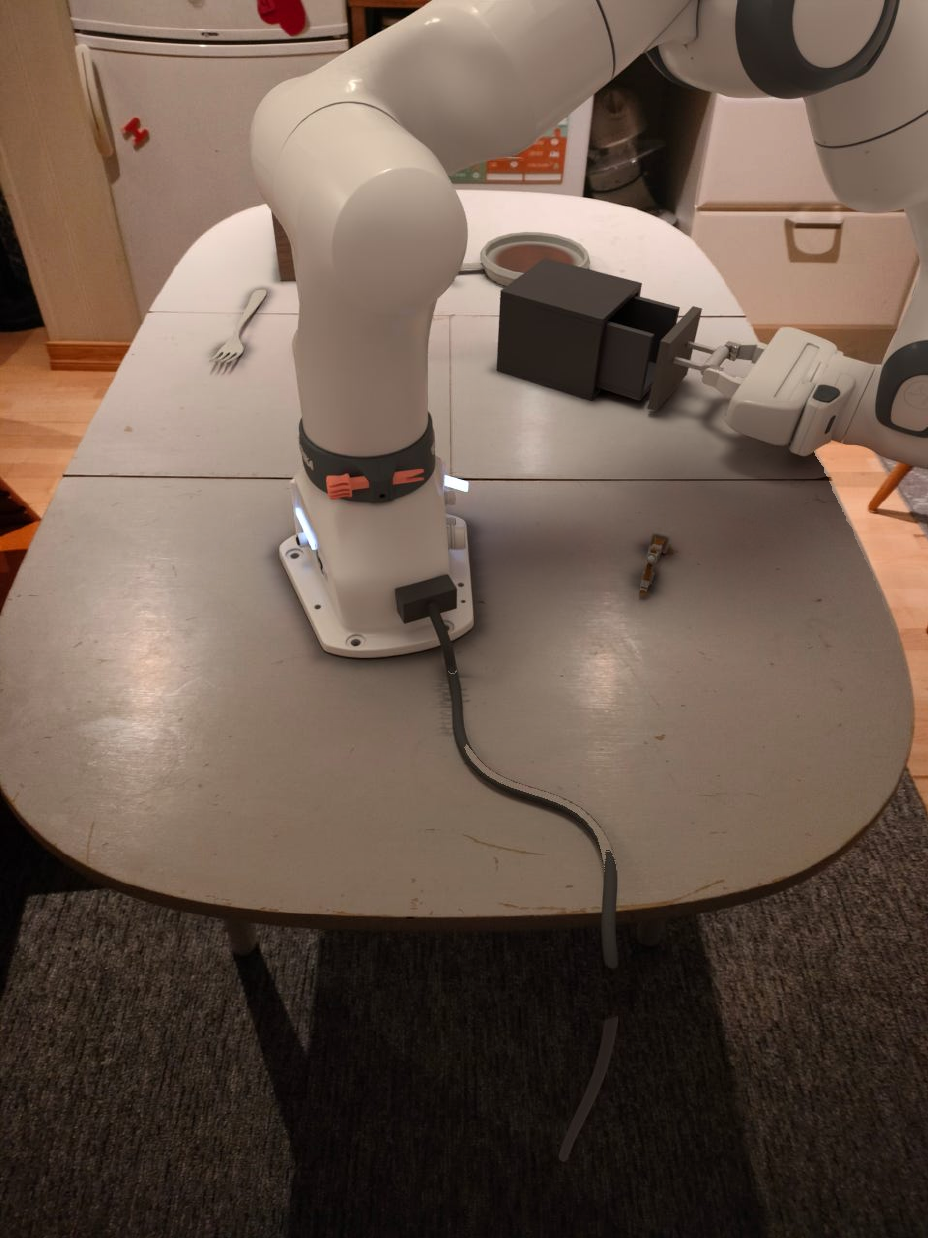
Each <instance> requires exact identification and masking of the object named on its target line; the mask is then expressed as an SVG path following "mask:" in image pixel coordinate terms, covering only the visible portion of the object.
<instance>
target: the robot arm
mask: <svg viewBox="0 0 928 1238" xmlns="http://www.w3.org/2000/svg"><path fill="white" fill-rule="evenodd" d="M644 53H645V55H646V56H647V58H648V60H649V61H650V63H651V64H652V65H653V66H654V68H655V69H656V70H657V71H658V72H659V73H660V74H661V75H662V76H663V77H665V78H666V79H667V80H669V81H670V82H672V83H673V84H675V85H677V86H679V87H681V88H684V89H687V90H692V91H702V90H703V91H705V92H710V93H714V94H719V95H721V96H723V97H727V98H733V99H746V100H747V99H766V98H769V99H770V98H776V99H779V100H795V99H796V100H798V99H802V100H803V102H804V104H805V109H806V114H807V115H806V116H807V119H808V124H809V129H810V131H811V136H812V140H813V144H814V147H815V151H816V155H817V158H818V161H819V165H820V168H821V172H822V174H823V176H824V178H825V180H826V182H827V184H828V187H829V188H830V190H831V192H832V193H833V195H834V197H835V198H836V200H837V201H838V203H839V204H841V205H843V206H845V207H847V208H849V209H852V210H854V211H857V212H861V213H864V214H865V213H866V214H887V213H892V212H896V211H897V212H899V211H902V210H903V212H904V214H905V217H906V221H907V224H908V227H909V230H910V233H911V237H912V240H913V243H914V247H915V250H916V253H917V256H918V260H919V271H918V277H917V280H916V283H915V286H914V288H913V290H912V291H913V292H912V295H911V297H910V301H909V303H908V305H907V307H906V308H905V312H904V314H903V316H902V318H901V320H900V322H899V325H898V327H897V329H896V331H895V332H894V335H893V337H892V338H891V341H890V342H889V345H888V347H887V349H886V352H885V354H884V356H883V359H882V361H881V366H880V365H876V364H872V363H869V362H866V361H862V360H859V359H855V358H852V357H849V356H845V355H844V354H845V353H844V352H843V351H842V350H839V349H838V346H837V345H836V344H835V343H833V342H831V341H830V340H828V339H826V338H824V337H820V336H819V335H816V334H813V333H810V332H807V331H804V330H802V329H799V328H796V327H791V326H781V327H779V328H778V329H777V331H776V332H775V334H774V335H773V337H772V338H771V339H770V341H769V343H764V342H760V341H748V342H747V341H745V342H741V341H737V340H734V339H728V340H727V341H726V342H725V344H724V345H723V346H726V347H727V348H728V350H729V355H728V357H727V358H726V359H725V360H729V361H731V362H735V361H736V360H744V361H751V362H750V363H751V364H753V366H752V367H751V369H750V370H749V372H748V373H747V375H746V376H745V377H744V378H743V377H742V376H739V375H735V376H734V377H733V376H731V375H730V374H728V373H726V372H725V371H724V367H721V366H720V367H719V366H715V365H709V366H708V367H707V368H706V370H705V371H704V374H703V376H702V378H701V382H702V384H704V385H707V386H710V387H713V388H715V389H716V390H717V391H718V392H719V393H721V394H722V395H723V396H724V397H725V398H727V399H730V401H729V404H728V407H727V410H726V413H725V416H724V422H725V424H726V425H727V426H728V427H729V428H730V429H731V430H733V431H735V432H737V433H739V434H741V435H744V436H747V437H749V438H753V439H755V440H758V441H761V442H764V443H768V444H771V445H774V446H787V445H789V449H788V450H789V452H790V453H792V454H794V455H797V456H801V457H807V456H810V455H811V454H812V453H814V452H815V451H817V450H818V449H820V448H821V447H823V446H825V445H828V444H830V443H831V441H833V442H836V443H838V444H842V445H847V446H858V447H862V448H866V449H868V450H870V451H871V452H873V453H875V454H877V455H878V456H880V457H881V458H885V459H887V460H891V461H893V462H896V463H900V464H903V465H907V466H911V467H915V468H919V469H923V470H928V0H430V1H429V2H427V3H425V5H424V6H421V7H420V8H418V9H417V10H415V11H414V12H412V13H410V14H409V15H407V16H406V17H404V18H402V19H400V20H399V21H397V22H396V23H394V24H392V25H390V26H388V27H387V28H385V29H383V30H381V31H379V32H377V33H376V34H374V35H372V36H371V37H368V38H367V39H365V40H363V41H361V42H360V43H358V44H357V45H355V46H353V47H351V48H350V49H348V50H347V51H345V52H343V53H341V54H340V55H338V56H336V57H335V58H334V59H332V60H330V61H329V62H327V63H326V64H324V65H323V66H320V67H319V68H318V69H316V70H313V71H311V72H310V73H307V74H304V75H301V76H297V77H292V78H289V79H287V80H284V81H282V82H280V83H279V84H277V85H276V86H274V87H273V88H272V89H271V90H270V91H268V92H267V93H266V95H265V96H264V97H263V98H262V100H261V101H260V103H259V104H258V106H257V107H256V109H255V112H254V115H253V117H252V120H251V125H250V129H249V130H250V131H249V151H250V152H249V153H250V160H251V166H252V172H253V177H254V180H255V181H254V182H255V184H256V187H257V189H258V191H259V194H260V196H261V198H262V200H263V201H264V203H265V204H266V206H267V207H268V209H269V210H270V212H271V211H272V213H273V214H274V215H275V217H276V218H277V219H278V221H279V222H280V223H281V225H282V227H283V228H284V230H285V232H286V234H287V236H288V239H289V241H290V244H291V247H292V249H293V252H294V255H295V259H296V263H297V268H298V276H299V287H300V300H299V299H298V320H297V328H296V330H295V332H294V334H293V337H292V342H291V347H292V354H293V361H294V369H295V376H296V385H297V392H298V399H299V407H300V415H301V417H300V419H299V423H298V433H299V434H298V447H299V451H300V454H301V460H302V461H301V462H302V465H301V467H300V468H299V470H298V472H297V473H296V474H295V475H294V476H293V477H292V479H291V480H290V481H289V488H290V497H291V505H292V514H293V520H294V527H295V534H293V535H291V536H290V537H288V538H286V539H285V540H284V541H283V542H282V543H281V544H280V545H279V547H278V548H279V549H278V551H279V560H280V561H281V563H282V566H283V568H284V570H285V572H286V574H287V576H288V579H289V580H290V583H291V584H292V587H293V589H294V591H295V593H296V595H297V597H298V600H299V602H300V604H301V606H302V608H303V610H304V612H305V614H306V617H307V619H308V621H309V623H310V625H311V628H312V629H313V631H314V634H315V636H316V638H317V640H318V642H319V644H320V646H321V647H322V649H323V650H324V651H325V652H326V653H328V654H329V653H330V654H332V655H336V656H340V657H347V658H359V659H365V658H366V659H367V658H368V659H369V658H371V659H372V658H373V659H374V658H383V657H384V658H385V657H394V656H400V655H407V654H411V653H412V654H413V653H417V652H422V651H427V650H429V649H434V648H437V647H440V648H441V653H442V656H443V657H442V658H443V661H444V666H445V671H446V676H447V680H448V684H449V693H450V699H451V719H452V720H451V722H452V730H453V735H454V739H455V743H456V744H457V747H458V750H459V751H460V753H461V755H462V757H463V758H464V759H465V761H466V762H467V763H468V765H469V766H470V767H471V768H472V770H473V771H474V772H475V773H476V774H477V775H478V776H479V777H480V778H482V779H484V780H485V781H486V782H487V783H489V784H491V785H492V786H494V787H496V788H497V789H500V790H502V791H505V792H507V793H509V794H512V795H515V796H518V797H521V798H523V799H528V800H530V801H534V802H537V803H540V804H543V805H546V806H549V807H552V808H553V809H557V810H559V811H561V812H562V813H565V814H567V815H568V816H570V817H572V818H573V819H574V820H575V821H577V822H578V823H580V824H581V825H582V827H584V828H585V829H586V831H587V832H588V834H590V835H591V837H592V839H593V840H594V842H595V844H596V846H597V848H598V850H599V854H600V856H601V858H602V853H601V849H600V845H599V842H598V838H597V836H596V835H595V833H594V831H593V829H592V828H591V827H590V826H589V825H588V823H587V822H586V821H585V820H584V819H583V818H581V817H580V816H579V815H578V814H577V813H575V812H573V811H572V810H570V809H568V808H567V807H565V806H563V805H560V804H558V803H556V802H553V801H550V800H548V799H545V798H542V797H539V796H535V795H532V794H529V793H526V792H523V791H520V790H517V789H514V788H511V787H509V786H506V785H504V784H501V783H499V782H497V781H496V780H494V779H492V778H490V777H489V776H487V775H486V774H485V773H483V772H482V771H481V770H480V769H479V768H478V767H477V766H476V765H475V764H474V763H473V762H472V761H471V759H470V758H469V756H468V755H467V753H466V750H465V748H464V747H465V746H466V744H467V745H468V746H469V748H470V749H471V750H472V751H473V753H474V754H475V755H476V756H477V758H478V759H479V760H480V761H481V762H482V763H483V764H484V765H485V766H486V767H488V768H489V769H490V770H492V771H493V772H495V771H494V770H493V769H491V767H489V766H487V765H486V764H485V762H483V761H482V760H481V759H480V757H479V756H478V755H477V754H476V752H475V751H474V749H473V747H472V746H471V744H470V742H469V739H468V736H467V732H466V728H465V721H464V706H463V694H462V687H461V681H460V676H459V672H458V671H459V670H458V666H457V662H456V657H455V651H454V648H453V647H454V646H453V644H452V642H453V641H455V640H456V639H458V638H461V637H462V636H464V635H465V634H466V633H468V632H469V631H470V630H471V629H472V628H473V627H474V625H475V624H474V623H475V617H474V616H475V615H474V604H473V603H474V602H473V592H472V589H473V588H472V579H471V564H470V554H469V553H470V552H469V541H468V528H467V523H466V521H465V520H464V519H462V518H461V517H459V516H456V515H452V514H448V513H447V512H446V507H447V506H455V505H456V491H455V490H452V489H451V490H449V489H448V490H447V489H446V487H449V488H453V489H456V490H459V491H462V492H466V493H467V492H468V491H469V481H467V480H463V479H459V478H456V477H452V476H449V475H446V461H444V460H443V459H442V458H440V457H439V456H438V455H436V435H435V434H436V433H435V429H434V424H433V417H432V415H431V412H430V411H429V344H430V343H429V342H430V334H431V328H432V324H433V318H434V316H435V315H434V313H435V310H436V306H437V303H438V300H439V298H441V297H442V296H443V295H444V294H445V292H447V290H449V288H450V287H451V285H452V284H453V283H454V282H455V279H456V278H457V275H458V274H459V273H460V268H461V266H462V264H463V263H464V260H465V257H466V253H467V249H468V248H467V247H468V239H469V238H468V237H469V230H468V229H469V227H468V220H467V215H466V211H465V209H464V206H463V203H462V201H461V199H460V197H459V195H458V193H457V190H456V188H455V185H454V184H453V183H452V181H451V178H450V176H452V175H454V174H457V173H459V172H461V171H463V170H465V169H468V168H470V167H473V166H475V165H479V164H482V163H485V162H488V161H493V160H499V159H506V158H510V157H514V156H516V155H518V154H521V153H522V152H524V151H526V150H527V149H529V148H530V147H532V146H533V145H534V144H535V143H537V142H538V141H539V140H540V139H541V138H542V137H544V136H546V134H548V133H549V132H550V131H551V130H552V129H554V128H555V127H556V126H558V124H560V123H561V122H562V121H564V119H566V118H567V117H569V115H571V114H572V113H573V112H574V111H576V110H577V109H578V108H579V107H581V106H582V105H583V104H584V103H585V102H587V101H588V100H589V99H590V98H592V96H594V95H595V94H596V93H597V92H599V90H601V89H602V88H604V87H605V86H606V85H607V84H608V83H610V82H611V81H612V80H613V79H614V78H616V77H617V76H618V75H619V74H620V73H621V72H622V71H624V70H625V69H626V68H627V67H629V66H630V65H631V64H632V63H633V62H634V61H635V60H636V59H637V58H638V57H639V56H640V55H643V54H644ZM453 281H454V282H453ZM456 670H457V672H456V673H455V671H456ZM448 671H449V672H450V673H455V674H450V673H449V672H448ZM495 773H496V774H498V775H500V776H502V777H504V776H503V775H501V774H499V773H497V772H495ZM504 778H506V779H509V780H511V781H513V782H516V783H519V784H522V785H525V786H528V787H532V788H535V789H538V790H541V791H544V792H548V793H550V794H553V795H556V796H559V797H561V798H563V799H565V800H568V801H570V802H571V803H573V804H575V805H576V806H578V807H580V808H581V809H582V810H584V808H582V807H581V806H579V805H578V804H577V803H575V802H572V801H571V800H569V799H567V798H564V797H562V796H561V795H557V794H555V793H552V792H549V791H547V790H546V791H545V790H542V789H540V788H536V787H533V786H529V785H527V784H523V783H520V782H519V781H514V780H512V779H510V778H507V777H504ZM584 811H585V812H586V813H587V814H588V815H590V816H591V817H592V818H593V816H592V815H591V814H590V813H589V812H587V811H586V810H584ZM593 820H594V821H595V822H596V823H597V824H598V825H599V823H598V822H597V821H596V820H595V818H593ZM599 827H600V828H601V829H602V827H601V825H599ZM602 831H603V832H604V830H603V829H602ZM604 834H605V835H606V833H605V832H604ZM606 837H607V839H608V836H607V835H606ZM608 841H609V839H608ZM609 843H610V845H611V842H610V841H609ZM611 846H612V845H611ZM612 850H613V853H614V849H613V848H612ZM606 851H610V850H606ZM605 853H606V854H605V855H606V859H605V860H606V861H605V864H604V865H605V867H604V868H605V869H604V870H605V872H604V870H603V886H602V900H601V901H602V903H601V917H600V918H601V919H600V921H601V926H600V927H601V929H600V931H601V945H602V955H603V956H602V958H603V961H604V965H605V966H607V967H608V968H609V969H613V970H614V969H616V968H617V967H618V964H619V955H618V948H617V933H616V932H617V930H616V928H617V927H616V923H617V922H616V916H617V897H618V896H617V895H618V869H617V870H616V865H617V863H616V864H615V861H614V860H616V858H615V859H614V857H613V856H612V855H613V854H612V853H611V851H610V852H605ZM614 854H615V853H614ZM601 862H602V863H603V860H602V859H601ZM604 873H605V874H604ZM610 923H611V924H610ZM603 1022H604V1024H603V1029H602V1036H601V1042H600V1046H599V1050H598V1055H597V1058H596V1062H595V1065H594V1069H593V1071H592V1074H591V1077H590V1079H589V1082H588V1085H587V1087H586V1089H585V1092H584V1094H583V1096H582V1098H581V1101H580V1103H579V1105H578V1107H577V1110H576V1111H575V1114H574V1116H573V1118H572V1120H571V1122H570V1125H569V1127H568V1129H567V1132H566V1133H565V1136H564V1140H563V1141H562V1144H561V1147H560V1150H559V1153H558V1159H559V1161H561V1162H562V1163H563V1162H566V1161H567V1160H568V1158H569V1155H570V1153H571V1150H572V1148H573V1145H574V1143H575V1141H576V1139H577V1137H578V1135H579V1132H580V1130H581V1129H582V1126H583V1125H584V1122H585V1121H586V1118H587V1117H588V1115H589V1113H590V1111H591V1108H592V1106H593V1104H594V1102H595V1100H596V1099H597V1096H598V1093H599V1092H600V1089H601V1086H602V1084H603V1081H604V1079H605V1076H606V1073H607V1070H608V1067H609V1064H610V1061H611V1057H612V1053H613V1050H614V1045H615V1040H616V1035H617V1030H618V1024H619V1016H614V1017H610V1018H607V1019H604V1021H603Z"/></svg>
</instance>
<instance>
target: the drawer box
mask: <svg viewBox="0 0 928 1238" xmlns="http://www.w3.org/2000/svg"><path fill="white" fill-rule="evenodd" d="M642 285H643V283H642V282H640V281H636V280H632V279H628V278H625V277H620V276H617V275H612V274H609V273H605V272H602V271H598V270H594V269H590V268H587V269H586V268H582V267H578V266H574V265H570V264H567V263H563V262H559V261H555V260H551V259H547V258H543V259H542V260H541V261H539V262H538V263H537V264H535V265H534V266H533V267H531V268H530V269H529V270H527V271H526V272H525V273H523V274H522V275H521V276H519V277H518V278H517V279H515V280H514V281H513V282H511V283H510V284H509V285H507V286H505V287H504V288H502V289H501V290H500V293H499V312H498V313H499V314H498V330H497V332H498V333H497V351H496V371H497V372H500V373H503V374H507V375H511V376H513V377H516V378H519V379H522V380H525V381H528V382H532V383H535V384H538V385H540V386H541V385H542V386H545V387H547V388H551V389H554V390H557V391H560V392H564V393H566V394H569V395H573V396H576V397H579V398H582V399H585V400H588V401H593V399H595V397H596V396H598V395H599V393H600V392H602V390H603V389H601V388H598V387H596V381H597V374H598V367H599V360H600V353H601V346H602V340H603V333H604V326H605V322H606V321H608V320H609V319H610V318H611V317H612V316H613V315H614V314H615V313H616V312H617V311H618V310H619V309H620V308H621V307H622V306H623V305H625V304H626V303H627V302H628V301H629V300H630V299H631V298H632V297H633V296H634V295H636V296H640V297H641V292H642V287H643V286H642Z"/></svg>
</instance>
